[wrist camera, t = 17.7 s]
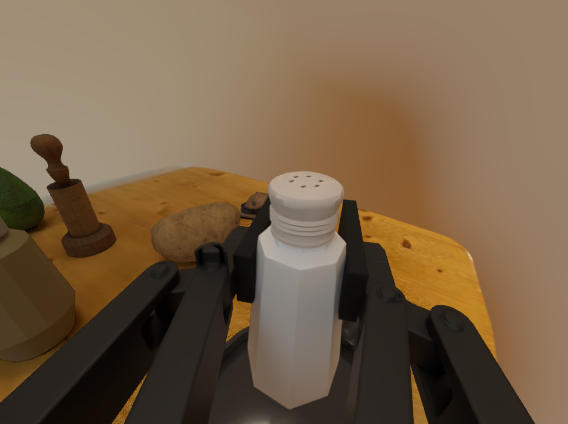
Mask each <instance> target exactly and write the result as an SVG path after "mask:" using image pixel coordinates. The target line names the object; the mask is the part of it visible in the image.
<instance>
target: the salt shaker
mask: <svg viewBox="0 0 568 424" xmlns="http://www.w3.org/2000/svg"><path fill="white" fill-rule="evenodd" d="M268 195H269V198H270V201H271V205H270V220H271V225H270V226H269V227H268V228H267V229H266V230H265V231H264V232H263V233H261V234H260V235H259V236H258V243H257V251H256V284H255V299H254V301H253V303H252V304H251V315H250V326H249V338H248V354H249V360H250V366H251V372H252V378H253V384H254V387H256V388H257V389H259V390H260V391H262V392H263V393H265V394H266V395H268V396H269V397H271V398H272V399H274V400H275V401H277V402H278V403H280V404H281V405H283V406H284V407H286V408H287V409H292V408H295V407H298V406H301V405H303V404H306V403H309V402H312V401H314V400H317V399H320V398H323V397H325V396H328V393H329V390H330V387H331V384H332V380H333V377H334V374H335V371H336V368H337V365H338V361H339V356H340V341H341V326H342V320H340V319H338V309H339V302H340V295H341V288H342V282H343V275H344V268H345V261H346V242H345V241H344V240H343V239H342V238H341V237H340V236H339V235H338V233H337V232H336V231H335V227H336V225H337V222H338V216H339V209H338V208H339V206H340V204H341V202H342V200H343V197H344V189H343V187H342V185H341V184H340V183H339V182H338V181H337V180H335V179H333V178H331V177H329V176H326V175H323V174H320V173H315V172H305V171H299V172H290V173H286V174H282V175H279V176H277V177H275V178H274V179H273V180H272V181H271V182H270V183H269V185H268Z"/></svg>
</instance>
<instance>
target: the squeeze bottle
mask: <svg viewBox="0 0 568 424" xmlns="http://www.w3.org/2000/svg"><path fill="white" fill-rule="evenodd" d="M74 324H75V290H74V289H73V288H72V287H71V285H70V284H69V283H68V282H67V281H66V279H65V278H64V277H63V276H62V274H61V273H60V272H59V271H58V270H57V268H56V267H55V266H54V265H53V263H52V262H51V261H50V260H49V258H48V257H47V256H46V255H45V254H44V252H43V251H42V250H41V249H40V247H39V246H38V245H37V244H36V243H35V241H34V240H33V239H32V238H31V236H30V235H29V234H28V233H27V232H25V231H23V230H16V229H8V227H7V226H6V224H5V222H4V221H3V219H2V218H1V216H0V359H3V360H7V361H11V362H18V361H24V360H29V359H31V358H34V357H36V356H38V355H41V354H43V353H45V352H46V351H48V350H49V349H51V348H52V347H54V346H56V345H57V344H59V343H60V342H61V341H62V340H63V339H64V338H65V337H66V336H67V335H68V334H69V333H70V331H71V329H72V328H73V326H74Z"/></svg>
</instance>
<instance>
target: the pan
mask: <svg viewBox="0 0 568 424" xmlns="http://www.w3.org/2000/svg"><path fill="white" fill-rule="evenodd" d="M341 337H342V336H341ZM248 338H249V326H248V327H247V328H245V329H243V330H241V331H239V332H238V333H237V334H235V335H234V336H233V337H232V338H231V339H230V340H228V341H227V342H226V343H225V347H224V352H223V356H222V361H221V366H220V370H219V375H218V379H217V384H216V388H215V393H214V397H213V402H212V406H211V411H210V416H209V420H208V424H344V418H345V411H346V404H347V397H348V391H349V384H350V377H351V370H352V363H353V356H354V349H355V343H354V341H353V340H352V341H351V340H346V339H345V340H346V341H347V342H349V343H350V344H351V345H352V348H351V349H352V350H351V349H349V348H348V347H347V346H345V345H343V343H342V344H340V356H339V361H338V365H337V368H336V371H335V374H334V377H333V380H332V384H331V387H330V390H329V393H328V396H325V397H323V398H320V399H317V400H314V401H312V402H309V403H306V404H303V405H301V406H298V407H295V408H292V409H287V408H286V407H284V406H283V405H281V404H280V403H278V402H277V401H275V400H274V399H272V398H271V397H269V396H268V395H266V394H265V393H263V392H262V391H260V390H259V389H257V388H256V387H254V384H253V378H252V372H251V366H250V360H249V354H248ZM344 346H345V347H344ZM346 347H347V348H346Z"/></svg>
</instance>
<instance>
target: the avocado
mask: <svg viewBox="0 0 568 424" xmlns="http://www.w3.org/2000/svg"><path fill="white" fill-rule="evenodd" d="M44 214H45V211H44V204H43V202H42V200H41V199H40V197H39V196H38V194H37V193H36V191H34V190H33V189H32V188H31V187H29V186H28V185H27V184H26V183H25V182H23V181H22V180H21V179H19V178H18V177H16V176H15V175H13V174H12V173H10V172H9V171H7V170H5V169H3V168H1V167H0V216H1V218H2V219H3V221H4V222H5V224H6V226H7V227H8V229H16V230H27V229H30V228H32V227H34V226H36V225H37V224H38V223H40V222H41V221H42V219H43V217H44Z"/></svg>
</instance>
